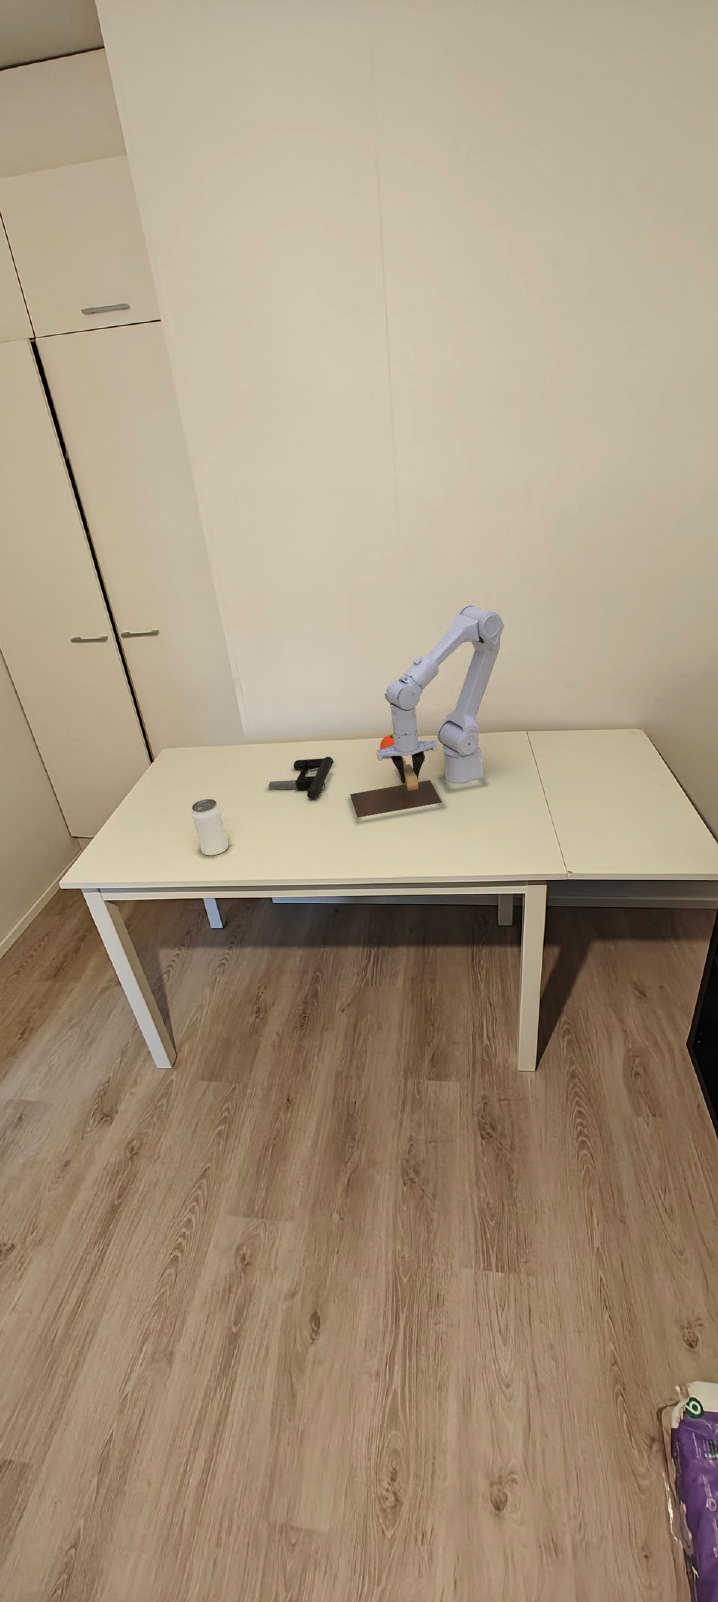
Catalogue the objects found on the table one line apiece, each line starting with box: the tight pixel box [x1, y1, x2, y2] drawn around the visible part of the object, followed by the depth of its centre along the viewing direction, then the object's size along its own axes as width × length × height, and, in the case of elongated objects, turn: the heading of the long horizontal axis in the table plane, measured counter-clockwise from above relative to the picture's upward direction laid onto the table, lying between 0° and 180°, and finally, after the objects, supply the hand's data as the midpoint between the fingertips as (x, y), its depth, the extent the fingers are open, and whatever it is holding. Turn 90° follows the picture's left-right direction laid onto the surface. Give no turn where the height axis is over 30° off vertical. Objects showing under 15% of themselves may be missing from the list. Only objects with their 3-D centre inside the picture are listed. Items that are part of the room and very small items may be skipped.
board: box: [349, 779, 443, 819], centre depth 177 cm, size 21×12×2 cm, turn 99°
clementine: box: [379, 733, 394, 750], centre depth 197 cm, size 8×7×7 cm
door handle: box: [268, 756, 335, 800], centre depth 192 cm, size 3×20×16 cm
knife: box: [401, 756, 419, 791], centre depth 179 cm, size 18×3×3 cm, turn 9°
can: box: [191, 798, 229, 857], centre depth 165 cm, size 6×6×12 cm
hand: (409, 780), depth 175 cm, fingers closed on knife, 2 cm apart
